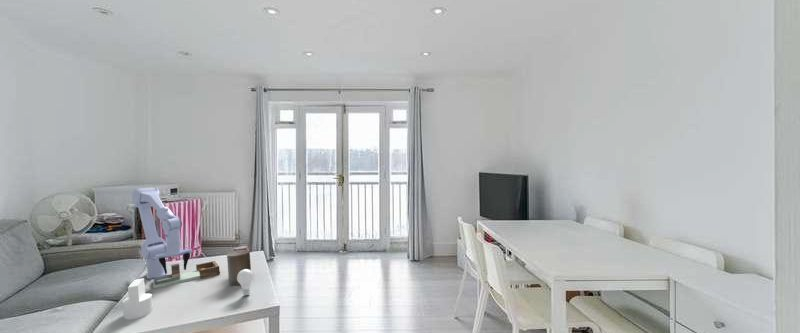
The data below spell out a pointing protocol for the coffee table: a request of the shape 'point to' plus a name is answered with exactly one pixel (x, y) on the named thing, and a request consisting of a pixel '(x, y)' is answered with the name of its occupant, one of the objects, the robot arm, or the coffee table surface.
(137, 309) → the cylinder with rectangular tab
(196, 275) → the plate
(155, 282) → the rail
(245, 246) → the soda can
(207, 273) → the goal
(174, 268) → the block
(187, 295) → the coffee table surface
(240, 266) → the pillar candle
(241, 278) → the lightbulb
